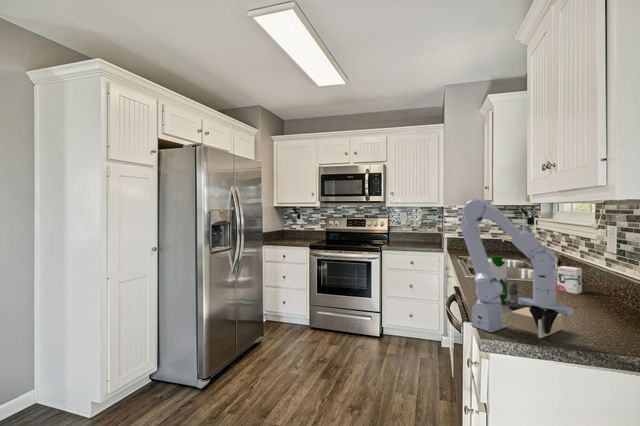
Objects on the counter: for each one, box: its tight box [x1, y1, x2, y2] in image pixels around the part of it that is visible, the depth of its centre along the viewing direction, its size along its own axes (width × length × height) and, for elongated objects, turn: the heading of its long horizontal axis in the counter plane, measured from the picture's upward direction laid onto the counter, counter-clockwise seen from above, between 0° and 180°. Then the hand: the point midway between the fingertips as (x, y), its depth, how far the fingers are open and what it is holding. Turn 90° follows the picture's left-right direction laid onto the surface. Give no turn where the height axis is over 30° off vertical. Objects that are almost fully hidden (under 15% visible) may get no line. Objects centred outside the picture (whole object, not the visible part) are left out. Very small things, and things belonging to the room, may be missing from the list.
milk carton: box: [488, 255, 509, 304], centre depth 144 cm, size 9×9×20 cm
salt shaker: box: [505, 279, 521, 312], centre depth 131 cm, size 6×6×12 cm
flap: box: [537, 313, 563, 339], centre depth 105 cm, size 14×1×6 cm, turn 122°
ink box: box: [556, 265, 583, 294], centre depth 159 cm, size 8×5×12 cm, turn 28°
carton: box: [510, 306, 544, 335], centre depth 110 cm, size 10×10×5 cm
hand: (544, 332), depth 102 cm, fingers closed
